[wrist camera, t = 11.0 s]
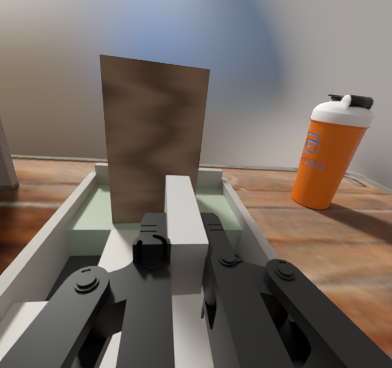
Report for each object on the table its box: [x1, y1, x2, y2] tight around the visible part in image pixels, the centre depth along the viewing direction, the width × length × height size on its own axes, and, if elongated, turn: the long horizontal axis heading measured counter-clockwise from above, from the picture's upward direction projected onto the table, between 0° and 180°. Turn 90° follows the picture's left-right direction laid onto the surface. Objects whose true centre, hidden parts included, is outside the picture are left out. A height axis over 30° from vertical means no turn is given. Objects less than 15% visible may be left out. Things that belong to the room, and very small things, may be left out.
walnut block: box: [100, 55, 210, 224], centre depth 25 cm, size 9×9×16 cm
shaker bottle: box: [291, 95, 374, 210], centre depth 39 cm, size 9×9×20 cm
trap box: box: [0, 163, 279, 368], centre depth 20 cm, size 21×30×7 cm
